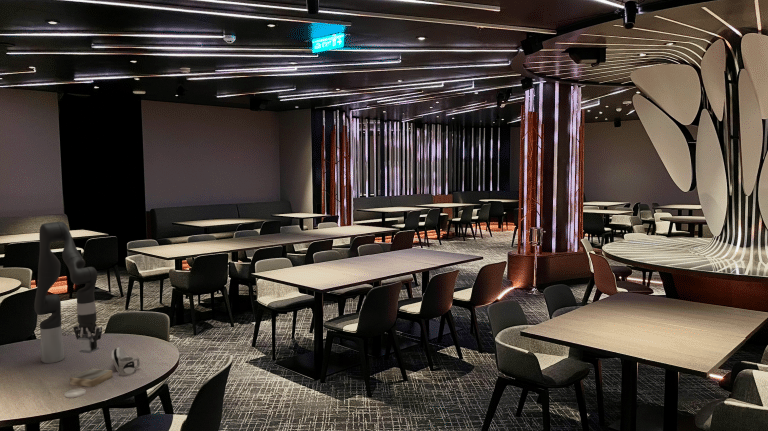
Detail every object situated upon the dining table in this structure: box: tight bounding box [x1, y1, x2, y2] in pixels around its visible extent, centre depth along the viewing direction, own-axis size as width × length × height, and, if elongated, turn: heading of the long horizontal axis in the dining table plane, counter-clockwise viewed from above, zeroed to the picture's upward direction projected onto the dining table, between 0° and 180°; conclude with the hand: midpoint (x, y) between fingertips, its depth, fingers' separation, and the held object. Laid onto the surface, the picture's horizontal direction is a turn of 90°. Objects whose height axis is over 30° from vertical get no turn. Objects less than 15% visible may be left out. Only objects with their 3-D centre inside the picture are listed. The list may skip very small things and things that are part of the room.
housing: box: [77, 335, 100, 354], centre depth 254 cm, size 6×6×7 cm
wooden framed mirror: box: [69, 368, 114, 388], centre depth 255 cm, size 12×12×3 cm
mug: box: [118, 356, 141, 377], centre depth 265 cm, size 10×7×7 cm, turn 148°
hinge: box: [110, 346, 130, 373], centre depth 273 cm, size 17×5×10 cm, turn 21°
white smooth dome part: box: [64, 387, 87, 399], centre depth 241 cm, size 8×8×1 cm
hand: (89, 348), depth 254 cm, fingers closed on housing, 4 cm apart
